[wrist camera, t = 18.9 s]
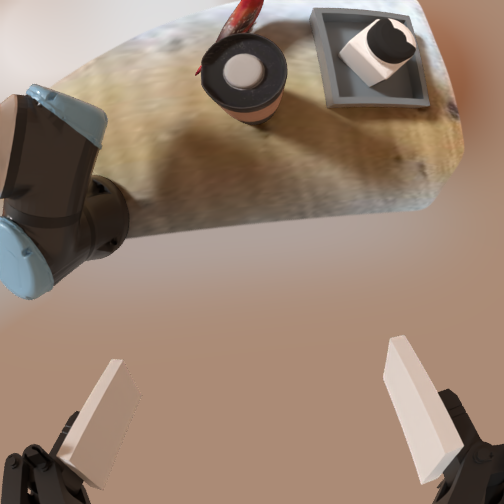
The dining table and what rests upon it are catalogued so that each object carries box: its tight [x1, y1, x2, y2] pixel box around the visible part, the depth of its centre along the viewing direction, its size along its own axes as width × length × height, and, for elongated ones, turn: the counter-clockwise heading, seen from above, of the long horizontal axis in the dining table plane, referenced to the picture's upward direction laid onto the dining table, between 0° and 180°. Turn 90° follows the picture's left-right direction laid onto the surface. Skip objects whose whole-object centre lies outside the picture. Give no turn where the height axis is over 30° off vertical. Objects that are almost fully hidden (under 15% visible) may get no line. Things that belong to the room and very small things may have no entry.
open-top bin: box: [309, 8, 430, 108], centre depth 33 cm, size 16×16×4 cm
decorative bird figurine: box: [195, 0, 264, 76], centre depth 31 cm, size 3×18×10 cm, turn 147°
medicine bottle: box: [338, 18, 416, 87], centre depth 29 cm, size 7×7×12 cm
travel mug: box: [201, 33, 287, 125], centre depth 30 cm, size 8×8×20 cm
